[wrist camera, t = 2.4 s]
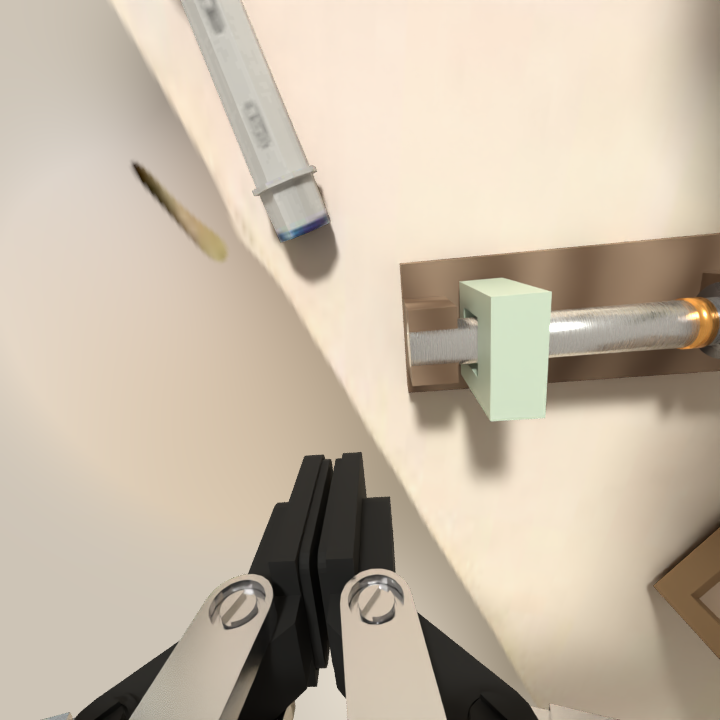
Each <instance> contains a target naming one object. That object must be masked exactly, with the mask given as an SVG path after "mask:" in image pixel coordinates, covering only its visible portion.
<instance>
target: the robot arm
mask: <svg viewBox="0 0 720 720" xmlns="http://www.w3.org/2000/svg"><path fill="white" fill-rule="evenodd" d="M332 468H333V467H332V461H331V459H325V457H324V455H310V456H305V457H304V459H303V462H302V465H301V468H300V470H299V474H298V476H297V479H296V482H295V485H294V488H293V491H292V494H291V497H290V499H289V502H284V503H277V504H276V505H275V507H274V509H273V512H272V514H271V517H270V520H269V522H268V524H267V527H266V529H265V532H264V535H263V537H262V540H261V542H260V545H259V547H258V550H257V552H256V555H255V557H254V560H253V562H252V565H251V568H250V570H249V573H248V574H244V575H240V576H237V577H233V578H231V579H229V580H228V581H226V582H224V583H222V584H221V585H220V586H218V587H217V588H216V589H215V590H214V591H213V592H212V593H211V594H210V595H209V597H208V598H207V599H206V601H205V602H204V604H203V605H202V607H201V608H200V610H199V612H198V613H197V615H196V616H195V618H194V619H193V621H192V622H191V624H190V625H189V627H188V628H187V630H186V632H185V633H184V635H183V636H182V638H181V639H180V641H179V642H177V643H176V644H174V645H173V646H171V647H170V648H169V649H167V650H166V651H164V652H163V653H162V654H160V655H159V656H157V657H156V658H154V659H153V660H152V661H150V662H149V663H147V664H146V665H144V666H143V667H141V668H140V669H139V670H137V671H136V672H134V673H133V674H132V675H130V676H129V677H127V678H126V679H124V680H123V681H121V682H120V683H119V684H117V685H116V686H115V687H113V688H111V689H110V690H109V691H107V692H106V693H104V694H103V695H102V696H100V697H99V698H97V699H96V700H94V701H93V702H92V703H91V704H90V705H88V706H87V707H86V708H85V709H83V710H82V711H81V712H80V713H79V714H78V716H76V718H72V715H71V713H70V712H68V713H65V714H61V715H57V716H54V717H50V718H46V719H42V720H293V718H294V712H295V700H296V699H297V698H298V697H299V696H300V695H301V694H302V693H303V692H304V691H305V690H306V689H307V687H317V682H318V675H319V668H327V665H328V659H329V650H331V657H332V663H333V667H334V672H335V678H336V684H337V688H338V690H339V691H340V692H341V693H342V695H343V696H344V697H345V698H346V704H347V718H348V720H618V719H614V718H610V717H606V716H601V715H597V714H593V713H589V712H584V711H580V710H576V709H572V708H567V707H563V706H559V705H555V704H550V703H549V710H546V709H542V708H537V707H533V706H530V705H529V704H528V703H527V702H526V701H525V700H524V699H523V698H522V697H521V696H520V695H519V694H518V692H517V691H515V690H514V689H513V688H511V687H510V686H509V685H507V683H505V682H504V681H503V680H502V679H500V678H499V677H498V676H496V675H495V674H494V673H493V672H492V671H490V670H489V669H488V668H486V667H485V666H484V665H483V664H481V663H480V662H479V661H477V660H476V659H475V658H474V657H473V656H472V655H470V654H469V653H468V652H466V651H465V650H464V649H463V648H462V647H460V646H459V645H458V644H456V643H455V642H454V641H453V640H451V639H450V638H449V637H448V636H446V635H445V634H444V633H443V632H441V631H440V630H439V629H438V628H437V627H435V626H434V625H433V624H431V623H430V622H429V621H428V620H427V619H425V618H424V617H423V616H421V615H420V614H419V613H418V612H417V610H416V607H415V603H414V600H413V596H412V593H411V590H410V588H409V586H408V584H407V582H406V581H405V580H404V579H403V578H402V577H401V576H400V575H398V574H396V573H395V557H394V542H393V530H392V529H393V528H392V515H391V504H390V497H373V498H367V497H366V489H365V478H364V469H363V460H362V453H361V452H357V453H343V455H342V458H340V459H336V461H335V466H334V471H333V469H332Z"/></svg>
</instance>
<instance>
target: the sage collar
mask: <svg viewBox="0 0 720 720" xmlns="http://www.w3.org/2000/svg"><path fill="white" fill-rule="evenodd" d="M459 294H460V318H471V317H477V318H478V363H472V364H461V375H462V377H463V378H464V380H465V381H466V383H467V385H468V386H469V388H470V390H471V391H472V393H473V394H474V396H475V398H476V399H477V401H478V402H479V404H480V406H481V407H482V409H483V410H484V412H485V414H486V415H487V417H488V418H489V420H490V421H505V420H521V419H537V418H545V414H546V395H547V375H548V356H549V337H550V318H551V299H552V292H551V291H548V290H544V289H541V288H537V287H534V286H530V285H527V284H523V283H520V282H516V281H513V280H509V279H506V278H492V279H481V280H470V281H459Z"/></svg>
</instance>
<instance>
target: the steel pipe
mask: <svg viewBox="0 0 720 720" xmlns="http://www.w3.org/2000/svg"><path fill="white" fill-rule="evenodd" d="M457 320H458V329H447V330H435V331H422V332H410V333H409V327H408V323H407V340H408V353H409V362H410V367H411V366H420V365H433V364H447V363H458V364H472V363H478V318H477V317H471V318H459V319H457ZM672 348H677V349H693V348H699V349H700V350H701V351H702V352H703V353H705V354H706V355H708V356H710V357H713V358H716V359H720V282H717V283H713V284H711V285H709V286H707V287H705V288H704V289H703V290H702V291H701V292H700V293H699V294H698V295H697V296H696V297H691V298H679V299H676V300H674V301H662V302H650V303H638V304H626V305H614V306H603V307H591V308H579V309H567V310H555V311H551V318H550V337H549V356H548V358H552V357H565V356H578V355H592V354H605V353H618V352H632V351H645V350H658V349H672Z"/></svg>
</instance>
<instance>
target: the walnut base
mask: <svg viewBox="0 0 720 720" xmlns="http://www.w3.org/2000/svg"><path fill="white" fill-rule="evenodd" d="M400 274H401V290H402V306H403V322H404V338H405V354H406V369H407V385H408V391H409V393H411V392H425V391H439V390H453V389H468V388H469V386H468V385H467V383H466V381H465V380H464V378H463V377H462V375H461V364H458V363H447V364H433V365H420V366H411V367H410V362H409V353H408V340H407V323H408V327H409V333H410V332H422V331H435V330H447V329H458V320H457V319H459V318H460V294H459V281H470V280H481V279H492V278H506V279H509V280H513V281H516V282H520V283H523V284H527V285H530V286H534V287H537V288H541V289H544V290H548V291H551V292H552V299H551V311H555V310H567V309H579V308H591V307H603V306H614V305H626V304H638V303H650V302H662V301H674V300H676V299H679V298H691V297H696V296H697V295H698V294H699V293H700V292H701V291H702V290H703V289H704V288H705V287H707V286H709V285H711V284H713V283H717V282H720V233H714V234H704V235H694V236H683V237H673V238H662V239H652V240H641V241H631V242H620V243H610V244H599V245H589V246H578V247H568V248H557V249H547V250H536V251H526V252H515V253H505V254H494V255H484V256H473V257H463V258H452V259H442V260H431V261H421V262H410V263H400ZM709 371H720V359H716V358H713V357H710V356H708V355H706V354H705V353H703V352H702V351H701V350H700V349H699V348H693V349H677V348H672V349H658V350H645V351H632V352H618V353H605V354H592V355H578V356H565V357H552V358H548V375H547V383H553V382H567V381H581V380H596V379H610V378H624V377H638V376H653V375H667V374H681V373H695V372H709Z"/></svg>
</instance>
